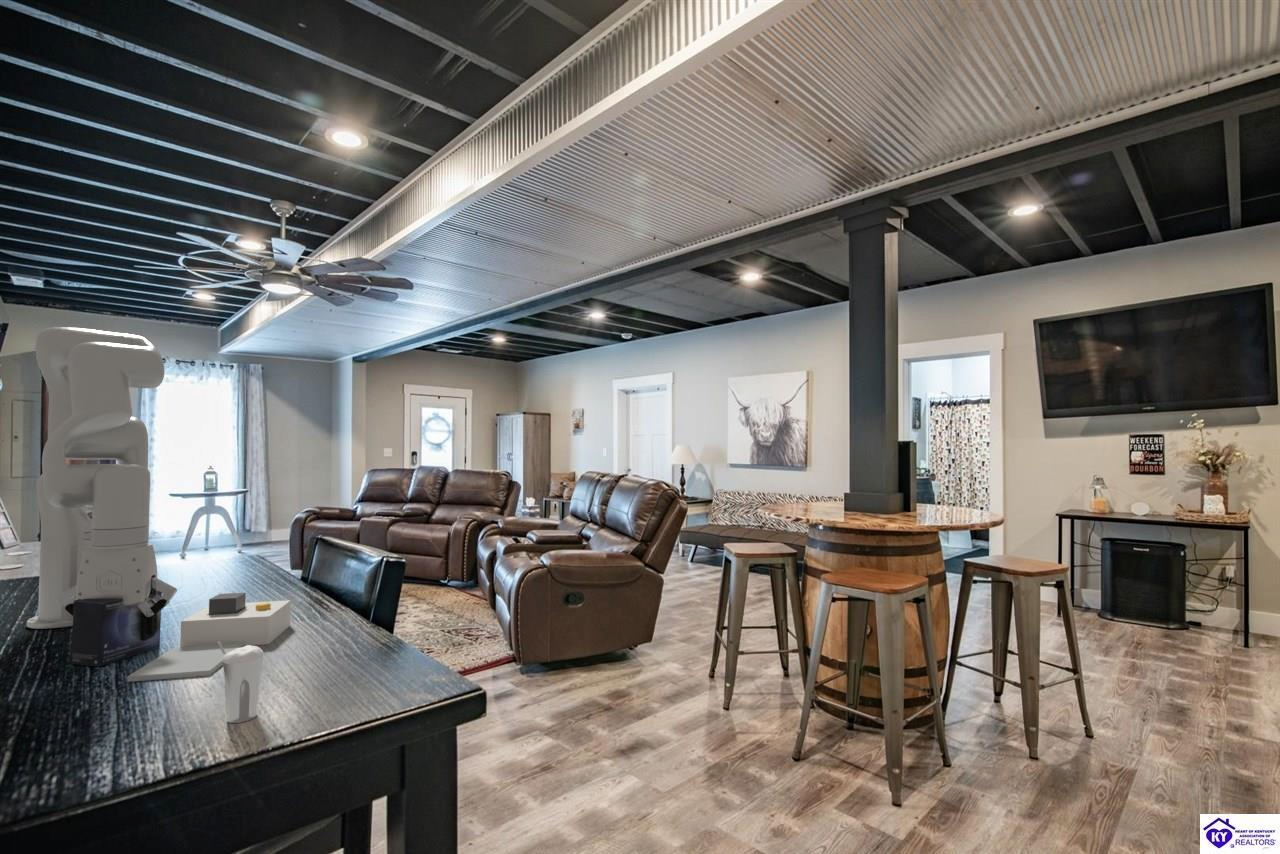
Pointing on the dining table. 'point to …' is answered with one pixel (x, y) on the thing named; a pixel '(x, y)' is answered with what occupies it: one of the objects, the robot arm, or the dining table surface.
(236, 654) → the milkshake
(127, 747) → the dining table surface
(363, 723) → the dining table surface
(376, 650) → the dining table surface
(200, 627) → the switch panel
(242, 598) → the button
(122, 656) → the small box
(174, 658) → the lockout pad
